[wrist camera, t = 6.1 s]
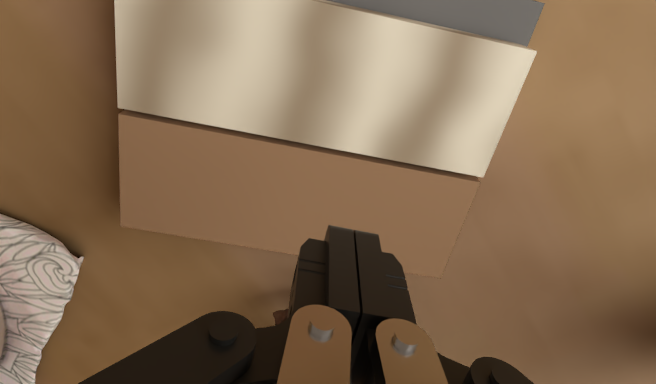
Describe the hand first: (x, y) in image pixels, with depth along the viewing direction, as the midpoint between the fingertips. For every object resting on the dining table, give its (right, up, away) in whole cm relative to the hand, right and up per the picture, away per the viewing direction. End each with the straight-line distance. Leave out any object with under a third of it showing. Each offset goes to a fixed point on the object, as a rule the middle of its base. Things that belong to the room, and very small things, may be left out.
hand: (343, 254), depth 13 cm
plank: (-1, +8, +10) cm, 13 cm away
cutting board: (-1, +6, +12) cm, 14 cm away
